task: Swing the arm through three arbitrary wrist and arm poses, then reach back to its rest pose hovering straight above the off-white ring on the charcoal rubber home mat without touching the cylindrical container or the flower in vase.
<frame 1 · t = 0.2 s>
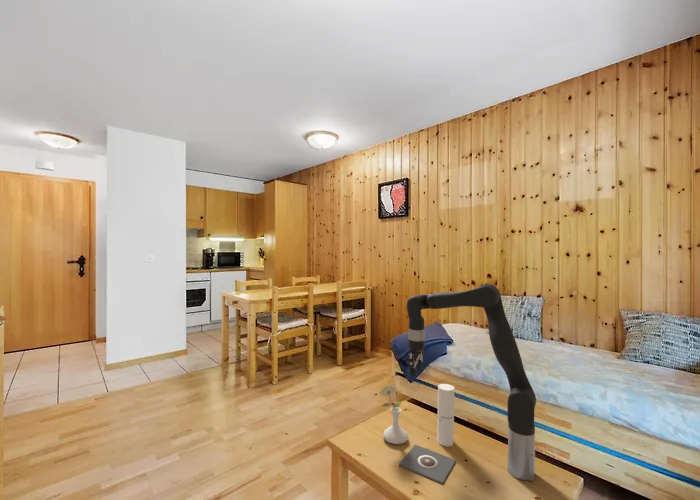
hand: (416, 372, 155), 29 cm above the table, fingers open, 8 cm apart
flower in vase: (393, 439, 152), on the table
cylindrical container: (445, 442, 151), on the table
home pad: (427, 463, 136), on the table
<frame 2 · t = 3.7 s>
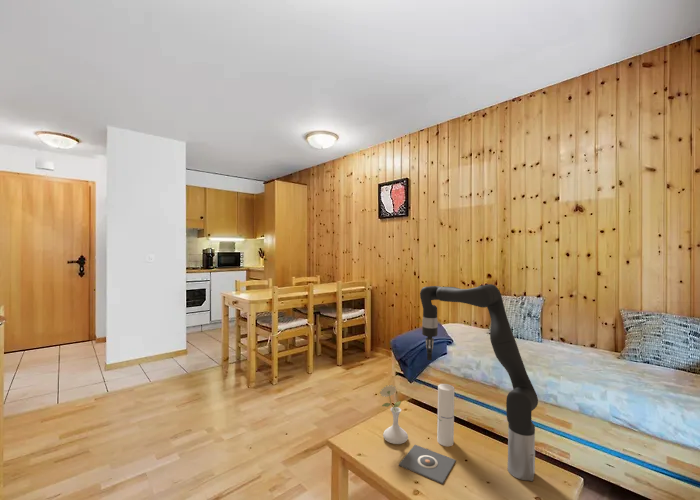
hand: (429, 359, 168), 31 cm above the table, fingers closed
nothing on the table moved.
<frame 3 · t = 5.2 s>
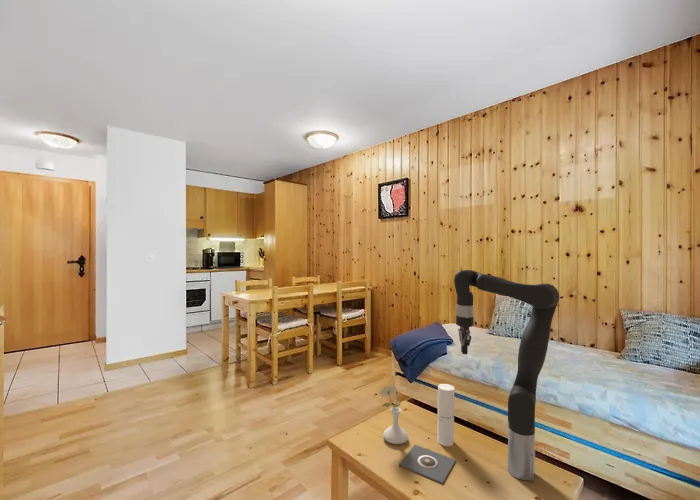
hand: (464, 353, 149), 41 cm above the table, fingers closed
nothing on the table moved.
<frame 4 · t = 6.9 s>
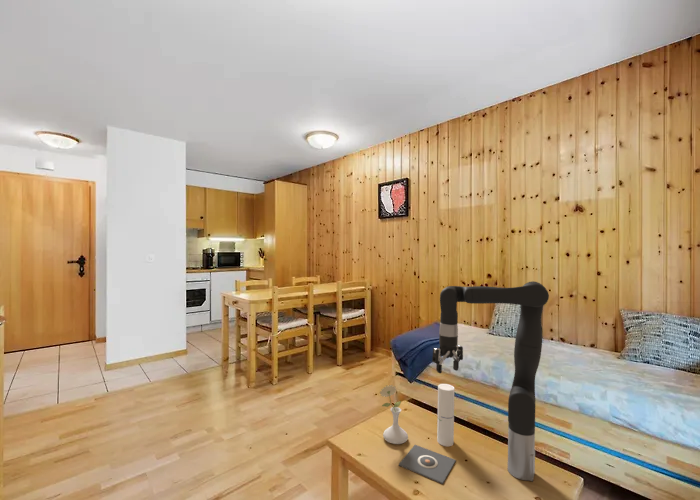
hand: (447, 371, 142), 35 cm above the table, fingers open, 8 cm apart
nothing on the table moved.
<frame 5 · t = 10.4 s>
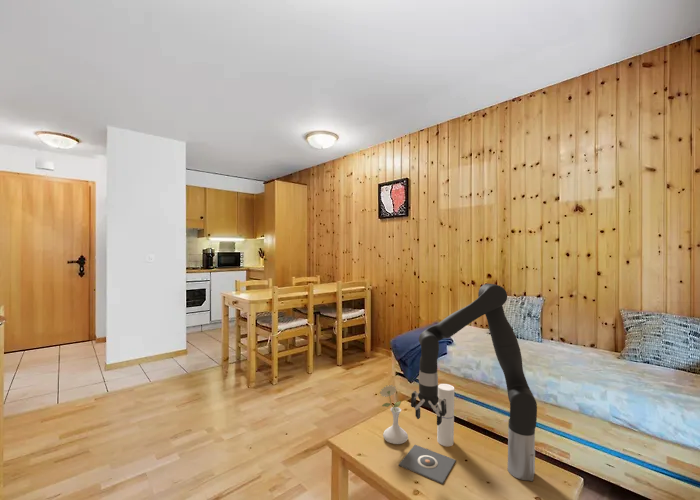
hand: (428, 421, 135), 17 cm above the table, fingers open, 8 cm apart
nothing on the table moved.
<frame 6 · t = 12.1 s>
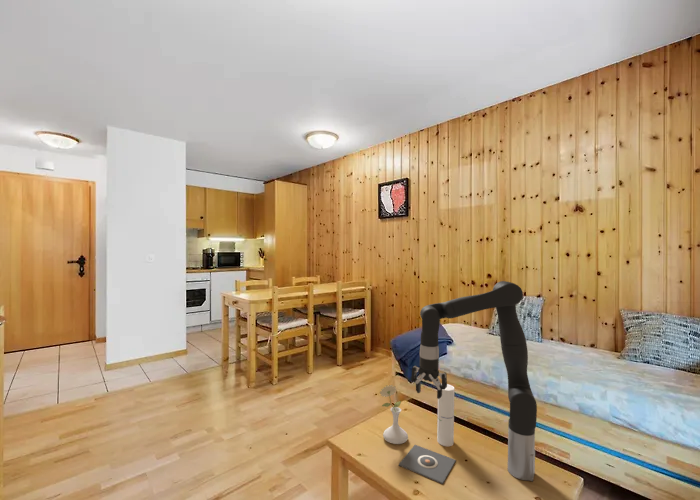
hand: (428, 395, 135), 28 cm above the table, fingers open, 8 cm apart
nothing on the table moved.
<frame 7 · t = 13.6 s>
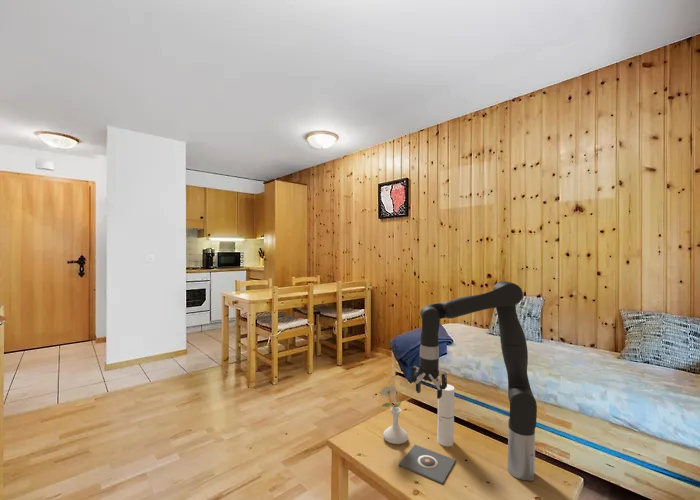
hand: (428, 395, 135), 28 cm above the table, fingers open, 8 cm apart
nothing on the table moved.
at the end: cylindrical container moved 0.2 cm from its start; flower in vase moved 0.2 cm from its start; cylindrical container tilted 0° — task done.
